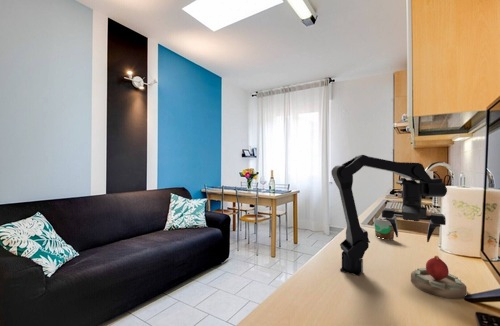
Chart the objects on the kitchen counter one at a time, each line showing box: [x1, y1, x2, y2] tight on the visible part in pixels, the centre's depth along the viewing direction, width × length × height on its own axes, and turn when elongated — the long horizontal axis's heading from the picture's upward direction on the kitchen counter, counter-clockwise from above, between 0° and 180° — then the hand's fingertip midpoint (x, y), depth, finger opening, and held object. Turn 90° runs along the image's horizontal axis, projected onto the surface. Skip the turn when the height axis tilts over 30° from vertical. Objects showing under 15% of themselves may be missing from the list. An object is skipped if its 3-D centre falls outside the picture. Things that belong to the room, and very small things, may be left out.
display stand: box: [410, 267, 468, 300], centre depth 75 cm, size 14×14×3 cm
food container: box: [372, 216, 395, 240], centre depth 125 cm, size 12×6×10 cm, turn 17°
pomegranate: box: [425, 255, 450, 281], centre depth 75 cm, size 6×6×8 cm
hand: (411, 239), depth 85 cm, fingers open, 9 cm apart
